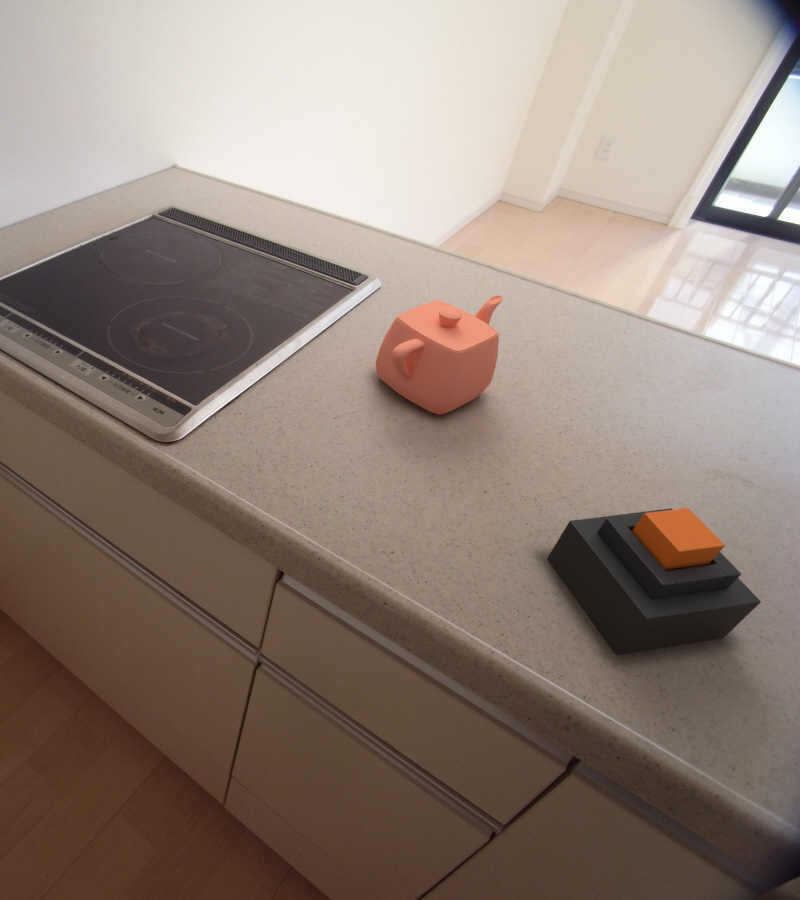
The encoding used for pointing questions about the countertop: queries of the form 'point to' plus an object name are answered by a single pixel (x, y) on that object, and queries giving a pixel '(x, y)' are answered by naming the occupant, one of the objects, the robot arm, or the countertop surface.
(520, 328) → the countertop surface
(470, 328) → the teapot
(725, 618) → the push button box
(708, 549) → the key
